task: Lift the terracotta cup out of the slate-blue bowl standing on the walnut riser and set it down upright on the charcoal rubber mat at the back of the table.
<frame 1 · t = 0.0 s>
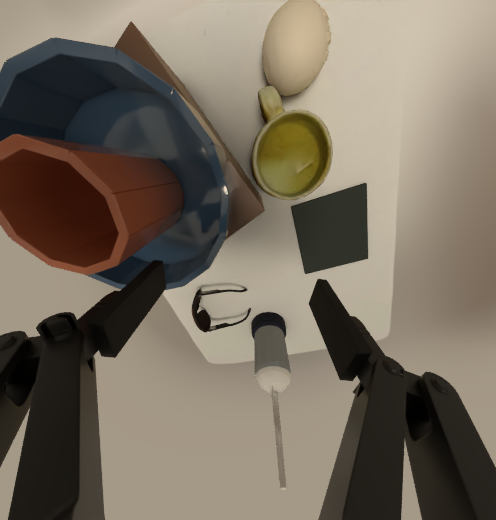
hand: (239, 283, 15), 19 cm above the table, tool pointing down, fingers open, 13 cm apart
mat: (331, 233, 32), on the table
cup: (149, 194, 19), point 11 cm above the table, touching bowl
humidifier: (268, 324, 44), on the table
riser: (185, 185, 29), on the table
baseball: (289, 67, 22), on the table
bowl: (150, 194, 19), resting on riser
sunglasses: (224, 300, 41), on the table
mug: (279, 152, 27), on the table
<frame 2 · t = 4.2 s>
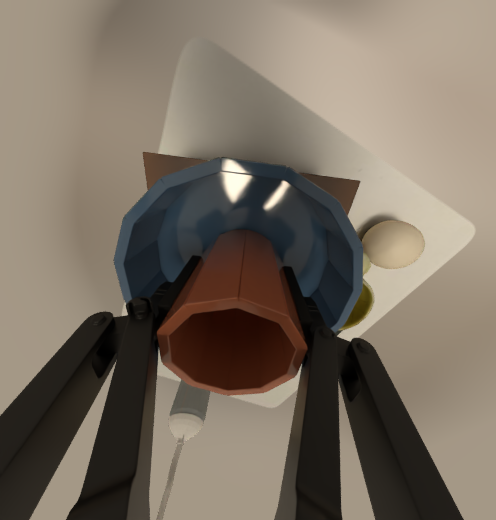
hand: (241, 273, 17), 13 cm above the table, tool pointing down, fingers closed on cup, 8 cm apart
cup: (242, 264, 18), point 11 cm above the table, touching bowl, gripper
humidifier: (202, 358, 44), on the table
riser: (246, 230, 28), on the table
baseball: (376, 236, 28), on the table
bowl: (242, 262, 18), resting on riser
mug: (326, 269, 31), on the table
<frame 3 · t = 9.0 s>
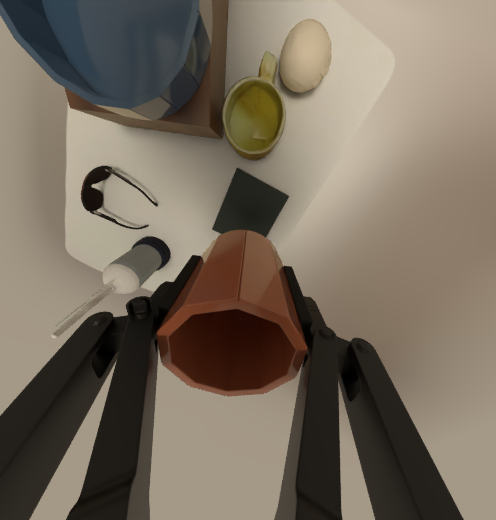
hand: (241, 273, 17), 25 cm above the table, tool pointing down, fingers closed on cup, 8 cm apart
mat: (248, 213, 39), on the table
cup: (242, 265, 18), point 24 cm above the table, touching gripper
humidifier: (154, 251, 44), on the table
riser: (170, 65, 28), on the table
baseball: (299, 72, 29), on the table
bowl: (126, 11, 19), resting on riser
sunglasses: (129, 200, 39), on the table
mug: (256, 120, 32), on the table
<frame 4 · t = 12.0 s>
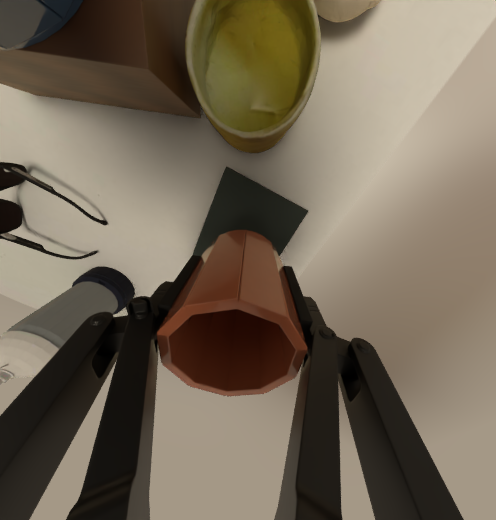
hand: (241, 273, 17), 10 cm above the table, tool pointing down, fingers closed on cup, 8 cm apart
mat: (245, 235, 26), on the table
cup: (242, 265, 18), point 9 cm above the table, touching gripper
humidifier: (111, 286, 31), on the table
sunglasses: (63, 215, 25), on the table
mug: (258, 85, 18), on the table
when the fingers open (2 cm above the table, at t = 14.3 s): cup stays where it is, resting on mat.
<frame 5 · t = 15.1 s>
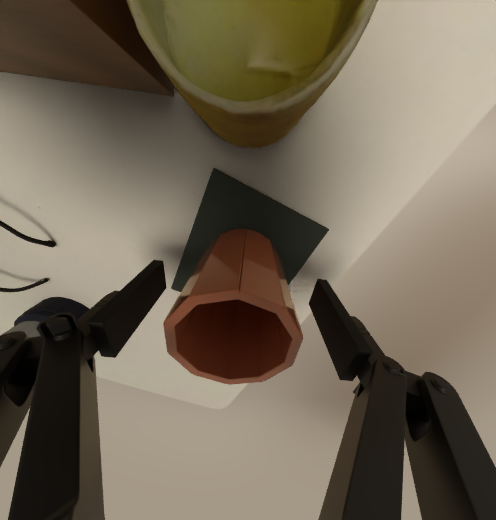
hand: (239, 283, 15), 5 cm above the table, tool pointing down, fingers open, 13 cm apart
mat: (242, 260, 19), on the table
cup: (242, 262, 19), resting on mat
humidifier: (72, 319, 24), on the table
mug: (260, 42, 12), on the table
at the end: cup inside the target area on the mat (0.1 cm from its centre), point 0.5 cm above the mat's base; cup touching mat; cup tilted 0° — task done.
